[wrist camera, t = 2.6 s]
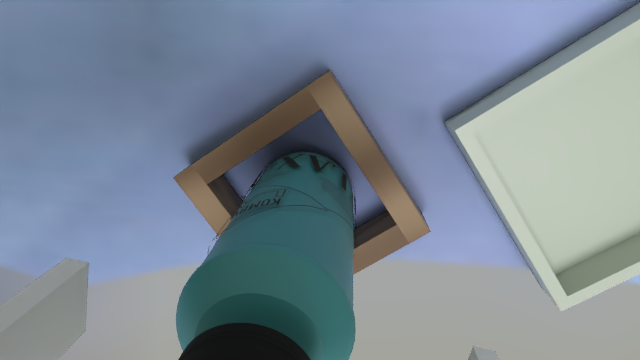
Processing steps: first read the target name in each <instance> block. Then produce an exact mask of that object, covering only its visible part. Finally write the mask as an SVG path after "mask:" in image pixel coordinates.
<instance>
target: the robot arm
mask: <svg viewBox="0 0 640 360" xmlns="http://www.w3.org/2000/svg"><path fill="white" fill-rule="evenodd" d="M88 265H89V263H88V262H83V261H79V260H74V259H70V258H65V259H64V260H63V261H61V262H60V263H59V264H57V265H56V266H54V267H53V268H52V269H50V270H49V271H47V272H46V273H45V274H43V275H42V276H40V277H39V278H38V279H36V280H35V281H33V282H32V283H31V284H29V285H28V286H26V287H25V288H24V289H22V290H21V291H19V292H18V293H17V294H15V295H14V296H13V297H11V298H10V299H8V300H7V301H6V302H4V303H3V304H1V305H0V360H58V359H59V358H60V357H61V356H62V355H63V354H64V353H65V352H66V351H67V350H68V349H69V348H70V347H71V346H72V345H73V344H74V343H75V342H76V340H78V338H79V337H80V336H81V335H82V334H83V333H84V332H85V331H86V308H87V288H88ZM468 360H500V359H499V357H498V355H497V353H496V351H492V350H488V349H483V348H478V347H473V348H472V351H471V353H470V356H469V359H468Z"/></svg>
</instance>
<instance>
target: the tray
mask: <svg viewBox="0 0 640 360" xmlns="http://www.w3.org/2000/svg"><path fill="white" fill-rule="evenodd" d="M444 124H445V126H446V127H447V129H448V131H449V133H450V134H451V136H452V138H453V139H454V141H455V143H456V144H457V146H458V148H459V149H460V151H461V153H462V155H463V156H464V158H465V160H466V161H467V163H468V165H469V166H470V168H471V170H472V171H473V173H474V175H475V177H476V178H477V180H478V182H479V183H480V185H481V187H482V188H483V190H484V192H485V193H486V195H487V197H488V198H489V200H490V202H491V204H492V205H493V207H494V209H495V210H496V212H497V214H498V215H499V217H500V219H501V220H502V222H503V224H504V226H505V227H506V229H507V231H508V232H509V234H510V236H511V237H512V239H513V241H514V242H515V244H516V246H517V248H518V249H519V251H520V253H521V254H522V256H523V258H524V259H525V261H526V263H527V264H528V266H529V268H530V270H531V271H532V273H533V275H534V276H535V278H536V279H537V281H538V283H539V285H540V286H541V288H542V289H543V290H544V291H545V293H546V294H547V295H548V296H549V298H550V299H551V300H552V301H553V302H554V304H555V305H556V306H557V307H558V309H559V310H560V311H563V310H565V309H567V308H569V307H572V306H574V305H576V304H578V303H580V302H582V301H584V300H586V299H588V298H590V297H593V296H595V295H597V294H599V293H601V292H603V291H605V290H607V289H609V288H611V287H613V286H616V285H618V284H620V283H622V282H624V281H626V280H628V279H630V278H632V277H634V276H637V275H639V274H640V3H638V4H636V5H635V6H633V7H632V8H630V9H628V10H627V11H625V12H623V13H622V14H620V15H618V16H617V17H615V18H613V19H612V20H610V21H609V22H607V23H605V24H604V25H602V26H600V27H599V28H597V29H595V30H594V31H592V32H591V33H589V34H587V35H586V36H584V37H582V38H581V39H579V40H577V41H576V42H574V43H573V44H571V45H569V46H568V47H566V48H564V49H563V50H561V51H559V52H558V53H556V54H555V55H553V56H551V57H550V58H548V59H546V60H545V61H543V62H541V63H540V64H538V65H537V66H535V67H533V68H532V69H530V70H528V71H527V72H525V73H523V74H522V75H520V76H519V77H517V78H515V79H514V80H512V81H510V82H509V83H507V84H505V85H504V86H502V87H501V88H499V89H497V90H496V91H494V92H492V93H491V94H489V95H487V96H486V97H484V98H483V99H481V100H479V101H478V102H476V103H474V104H473V105H471V106H469V107H468V108H466V109H465V110H463V111H461V112H460V113H458V114H456V115H455V116H453V117H451V118H450V119H448V120H447V121H445V122H444Z"/></svg>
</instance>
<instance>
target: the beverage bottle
mask: <svg viewBox="0 0 640 360" xmlns="http://www.w3.org/2000/svg"><path fill="white" fill-rule="evenodd" d="M301 151H306V150H301ZM292 152H294V151H292ZM313 152H314V151H313ZM317 153H318V152H317ZM285 154H286V153H285ZM320 154H321V153H320ZM323 155H324V154H323ZM325 156H326V155H325ZM325 156H322V155H319V154H316V153H310V152H296V153H291V154H286V156H285V155H283V157H281V158H280V157H279V159H277V160H276V159H275V160H276V161H275V162H273V163H272V164H271V165H270V166H269V167H268V168H267V169H266V171H265V172H264V173H263V175H262V176H261V178H260V179H259V181H258V182H257V181H256V180H257V179H258V177H259V176H260V174H261V173H262V172H263V171H262V172H261V173H260V174H259V176H258V177H257V179H256V180H255V182H254V183H256V182H257V183H256V184H254V183H253V184H252V186H251V188H252V191H251V192H250V193H249V194H248V197H247V198H246V199H245V201H244V202H243V201H242V202H243V204H242V205H241V206H240V205H239V204H238V205H239V206H238V207H240V208H239V210H238V211H237V212H236V214H235V215H234V216H233V217H232V215H230V216H231V217H230V216H229V217H230V218H229V219H232V220H231V221H230V223H229V224H228V226H227V227H226V229H225V230H224V231H222V232H223V233H221V236H220V237H219V239H218V240H217V242H216V243H215V245H214V247H213V249H212V250H211V252H210V253H209V255H208V256H207V258H206V259H205V261H204V262H203V263H202V265H201V266H200V267H198V268H197V270H196V271H195V272H194V273H193V274H192V276H191V277H190V278H189V280H188V282H187V283H186V285H185V286H184V288H183V290H182V293H181V296H180V298H179V302H178V305H177V313H176V326H177V333H178V338H179V341H180V344H181V347H182V349H183V353H182V355H181V356H180V358H179V360H348V359H349V357H350V355H351V352H352V349H353V345H354V341H355V316H354V311H353V258H354V257H353V250H354V239H353V231H354V230H353V229H354V228H353V226H354V225H355V234H356V224H355V223H354V225H353V221H354V220H353V192H352V187H351V184H350V181H349V180H350V178H349V177H347V176H348V175H347V174H345V173H346V172H345V173H344V170H342V169H341V167H340V166H341V165H340V164H339V163H338V164H339V165H340V166H338V164H336V163H335V162H333V161H332V160H331V159H332V158H331V159H329V158H330V157H329V158H327V157H328V156H327V157H325ZM273 161H274V160H273ZM334 161H335V160H334ZM265 167H266V166H265ZM342 168H343V167H342ZM343 169H344V168H343ZM346 175H347V176H346ZM348 178H349V179H348ZM251 188H250V189H251ZM353 189H354V188H353ZM248 191H249V190H248ZM246 194H247V193H246ZM355 201H356V200H355V194H354V202H355ZM236 209H237V208H236ZM233 213H234V211H233ZM355 214H356V204H355ZM355 214H354V215H355ZM229 219H227V221H228V220H229ZM227 221H226V222H225V223H226V224H227V223H228V222H229V221H228V222H227ZM355 222H356V221H355ZM226 224H225V225H226ZM223 227H225V226H224V225H223V226H222V228H223ZM222 228H221V229H222ZM221 229H220V230H221ZM223 229H224V228H223ZM218 233H219V232H218ZM219 234H220V233H219ZM219 234H217V235H219ZM355 236H356V235H355ZM217 237H218V236H217ZM214 239H215V238H214ZM216 239H217V238H216ZM356 240H357V239H356ZM212 241H213V240H212ZM209 247H210V246H209ZM356 249H357V248H356ZM208 251H209V249H208ZM354 256H355V255H354Z"/></svg>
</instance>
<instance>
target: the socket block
mask: <svg viewBox="0 0 640 360" xmlns="http://www.w3.org/2000/svg"><path fill="white" fill-rule="evenodd" d="M320 109H321V110H322V111H323V113H324V114H325V116H326V117H327V119H328V120H329V122H330V123H331V125H332V126H333V128H334V129H335V131H336V132H337V134H338V136H339V137H340V139H341V140H342V142H343V143H344V145H345V146H346V148H347V149H348V151H349V152H350V154H351V155H352V157H353V158H354V160H355V161H356V163H357V164H358V166H359V167H360V169H361V171H362V172H363V174H364V175H365V177H366V178H367V180H368V181H369V183H370V184H371V186H372V187H373V189H374V190H375V192H376V193H377V195H378V196H379V198H380V199H381V201H382V202H383V204H384V206H385V207H386V209H387V211H385V212H384V213H382V214H380V215H379V216H377V217H375V218H373V219H372V220H370V221H368V222H366V223H365V224H363V225H361V226H360V227H358V228H356V234H355V229H354V231H353V239H354V250H353V257H354V258H353V274H355V273H357V272H359V271H361V270H362V269H364V268H366V267H368V266H369V265H371V264H373V263H375V262H377V261H379V260H380V259H382V258H384V257H386V256H388V255H389V254H391V253H393V252H395V251H397V250H398V249H400V248H402V247H404V246H406V245H407V244H409V243H411V242H413V241H415V240H416V239H418V238H420V237H422V236H424V235H425V234H427V233H429V232H431V231H430V229H429V227H428V225H427V223H426V221H425V218H424V216H423V214H422V212H421V211H420V209H419V208H418V206H417V205H416V203H415V201H414V200H413V198H412V197H411V195H410V194H409V192H408V191H407V189H406V187H405V186H404V184H403V183H402V181H401V180H400V178H399V176H398V175H397V173H396V172H395V170H394V169H393V167H392V165H391V164H390V162H389V161H388V159H387V158H386V156H385V154H384V153H383V151H382V150H381V148H380V147H379V145H378V143H377V142H376V140H375V139H374V137H373V136H372V134H371V132H370V131H369V129H368V128H367V126H366V125H365V123H364V121H363V120H362V118H361V117H360V115H359V114H358V112H357V110H356V109H355V107H354V106H353V104H352V103H351V101H350V100H349V98H348V96H347V95H346V93H345V92H344V90H343V89H342V87H341V85H340V84H339V82H338V81H337V79H336V78H335V76H334V74H333V73H332V71H331V70H329V71H328V72H326V73H325V74H323V75H322V76H320V77H319V78H317V79H316V80H314V81H313V82H312V83H310V84H309V85H307V86H306V87H304V88H303V89H301V90H300V91H298V92H297V93H295V94H294V95H292V96H291V97H290V98H288V99H287V100H285V101H284V102H282V103H281V104H279V105H278V106H276V107H275V108H273V109H272V110H270V111H269V112H268V113H266V114H265V115H263V116H262V117H260V118H259V119H257V120H256V121H254V122H253V123H251V124H250V125H248V126H247V127H246V128H244V129H243V130H241V131H240V132H238V133H237V134H235V135H234V136H232V137H231V138H229V139H228V140H226V141H225V142H223V143H222V144H221V145H219V146H218V147H216V148H215V149H213V150H212V151H210V152H209V153H207V154H206V155H204V156H203V157H201V158H200V159H199V160H197V161H196V162H194V163H193V164H191V165H190V166H188V167H187V168H186V169H184V170H183V171H182V172H180V173H179V174H177V175H176V176H175V177H173V178H174V179H175V181H176V182H177V183H178V185H179V186H180V187H181V188H182V190H183V191H184V192H185V194H186V195H187V196H188V197H189V199H190V200H191V201H192V203H193V204H194V205H195V206H196V208H197V209H198V210H199V212H200V213H201V214H202V216H203V217H204V218H205V219H206V221H207V222H208V223H209V225H210V226H211V227H212V228H213V230H214V231H215V232H216V234H219V233H220V234H219V235H218V236H219V237H220V236H221V233H223V232H222V231H224V230H225V229H226V227H227V226H228V224H229V223H230V221H231V220H232V219H229V218H230V217H231V216H230V215H232V217H233V216H234V215H235V214H236V212H237V211H238V210H239V208H240V207H238V206H239V205H240V206H241V205H242V204H243V202H242V200H241V199H240V197H239V196H238V195H237V193H236V192H235V191H234V189H233V188H232V186H231V185H230V184H229V182H228V181H227V180H226V178H225V177H224V176H223V174H224V173H225V172H227V171H228V170H230V169H231V168H233V167H234V166H236V165H237V164H239V163H240V162H242V161H243V160H245V159H246V158H248V157H249V156H251V155H252V154H254V153H255V152H257V151H258V150H260V149H261V148H263V147H264V146H266V145H267V144H269V143H270V142H272V141H273V140H275V139H276V138H278V137H280V136H281V135H283V134H284V133H286V132H287V131H289V130H290V129H292V128H293V127H295V126H296V125H298V124H299V123H301V122H302V121H304V120H305V119H307V118H308V117H310V116H311V115H313V114H314V113H316V112H317V111H319V110H320ZM238 204H239V205H238ZM236 208H237V209H236ZM233 211H234V213H233ZM229 216H230V217H229ZM227 219H229V220H228V221H229V222H228V221H227ZM226 221H227V222H228V223H227V224H226V223H225V222H226ZM225 224H226V225H225ZM223 225H224V226H225V227H223V228H224V229H223V228H222V226H223ZM221 228H222V229H221ZM220 229H221V230H220ZM218 232H219V233H218ZM355 235H356V236H355ZM356 239H357V240H356ZM356 248H357V249H356ZM354 255H355V256H354Z"/></svg>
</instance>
